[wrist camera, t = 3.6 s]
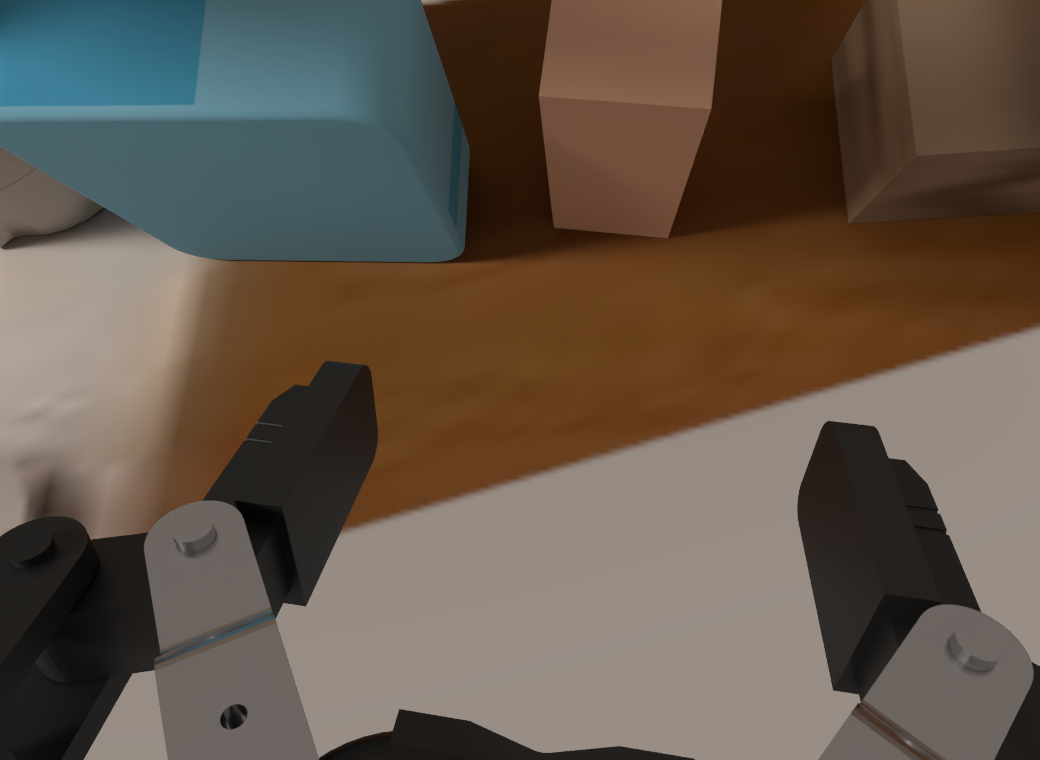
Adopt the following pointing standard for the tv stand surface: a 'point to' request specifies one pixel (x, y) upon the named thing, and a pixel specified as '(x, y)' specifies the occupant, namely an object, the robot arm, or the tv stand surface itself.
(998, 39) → the grey brown block
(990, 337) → the tv stand surface
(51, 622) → the robot arm
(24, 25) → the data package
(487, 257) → the tv stand surface
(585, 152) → the terracotta block
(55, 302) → the tv stand surface
